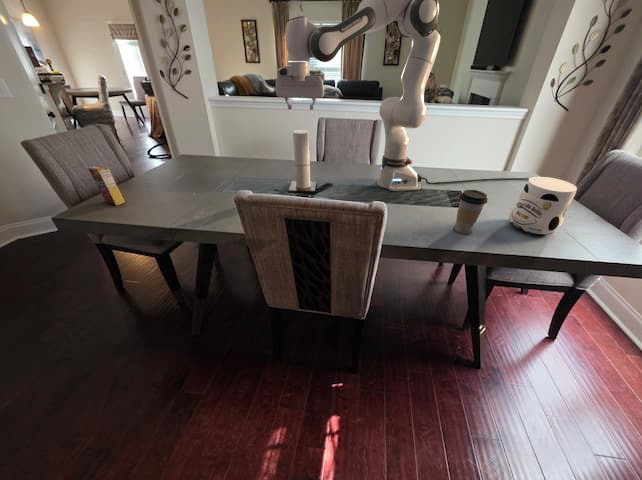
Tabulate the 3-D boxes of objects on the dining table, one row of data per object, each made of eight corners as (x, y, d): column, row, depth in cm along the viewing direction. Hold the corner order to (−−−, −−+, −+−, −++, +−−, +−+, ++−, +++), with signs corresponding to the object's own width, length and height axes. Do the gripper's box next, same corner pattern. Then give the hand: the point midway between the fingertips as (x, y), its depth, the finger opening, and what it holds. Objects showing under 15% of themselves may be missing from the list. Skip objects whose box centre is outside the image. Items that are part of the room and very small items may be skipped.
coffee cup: (468, 224, 114) (481, 188, 105) (479, 236, 107) (494, 199, 98) (446, 224, 114) (457, 188, 105) (455, 236, 106) (467, 199, 97)
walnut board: (316, 183, 148) (316, 181, 147) (314, 193, 137) (314, 191, 137) (292, 182, 148) (292, 180, 147) (288, 192, 138) (288, 190, 137)
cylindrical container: (311, 183, 145) (309, 130, 129) (309, 188, 139) (307, 133, 124) (297, 182, 145) (294, 129, 130) (294, 187, 139) (291, 133, 124)
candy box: (104, 201, 127) (86, 167, 117) (114, 198, 130) (97, 164, 120) (115, 206, 123) (98, 171, 114) (125, 202, 126) (109, 168, 117)
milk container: (502, 230, 111) (522, 185, 100) (508, 214, 122) (527, 172, 111) (554, 243, 103) (582, 197, 92) (555, 225, 115) (580, 181, 104)
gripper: (325, 70, 116) (325, 108, 124) (275, 69, 116) (279, 107, 125) (324, 71, 111) (324, 110, 119) (272, 70, 111) (276, 110, 120)
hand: (300, 109), depth 122 cm, fingers open, 8 cm apart
